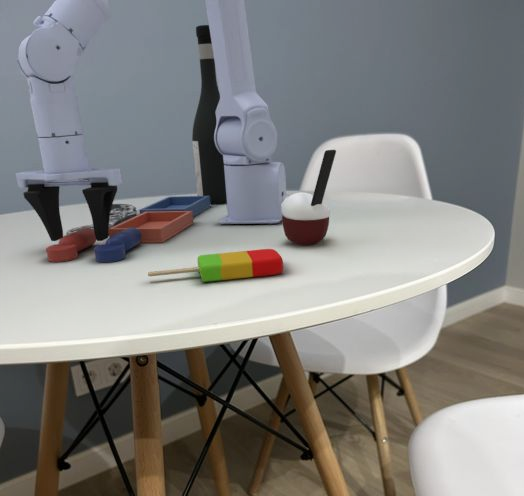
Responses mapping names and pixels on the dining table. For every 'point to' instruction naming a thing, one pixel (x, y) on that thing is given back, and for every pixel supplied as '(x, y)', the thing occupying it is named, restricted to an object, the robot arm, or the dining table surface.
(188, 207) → the blue tray
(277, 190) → the robot arm
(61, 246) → the red lobed piece
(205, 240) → the dining table surface
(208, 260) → the popsicle
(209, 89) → the wine bottle
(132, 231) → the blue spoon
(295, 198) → the cocoa
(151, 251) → the dining table surface
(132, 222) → the red tray
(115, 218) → the marbled grey crescent
